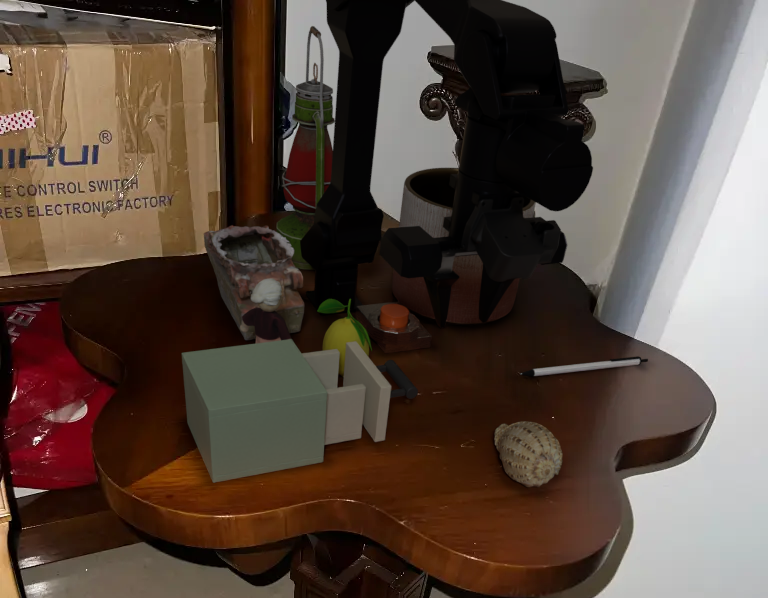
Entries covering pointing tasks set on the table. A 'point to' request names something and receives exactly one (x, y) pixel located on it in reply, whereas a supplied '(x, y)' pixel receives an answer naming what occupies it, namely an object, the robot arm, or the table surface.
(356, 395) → the drawer
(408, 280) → the planter
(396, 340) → the control block
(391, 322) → the button
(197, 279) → the table surface
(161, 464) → the table surface
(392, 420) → the table surface
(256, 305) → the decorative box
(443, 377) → the table surface
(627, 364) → the pen
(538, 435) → the seashell
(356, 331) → the lemon
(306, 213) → the lantern
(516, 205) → the robot arm
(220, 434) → the cabinet
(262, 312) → the grandmother figurine
